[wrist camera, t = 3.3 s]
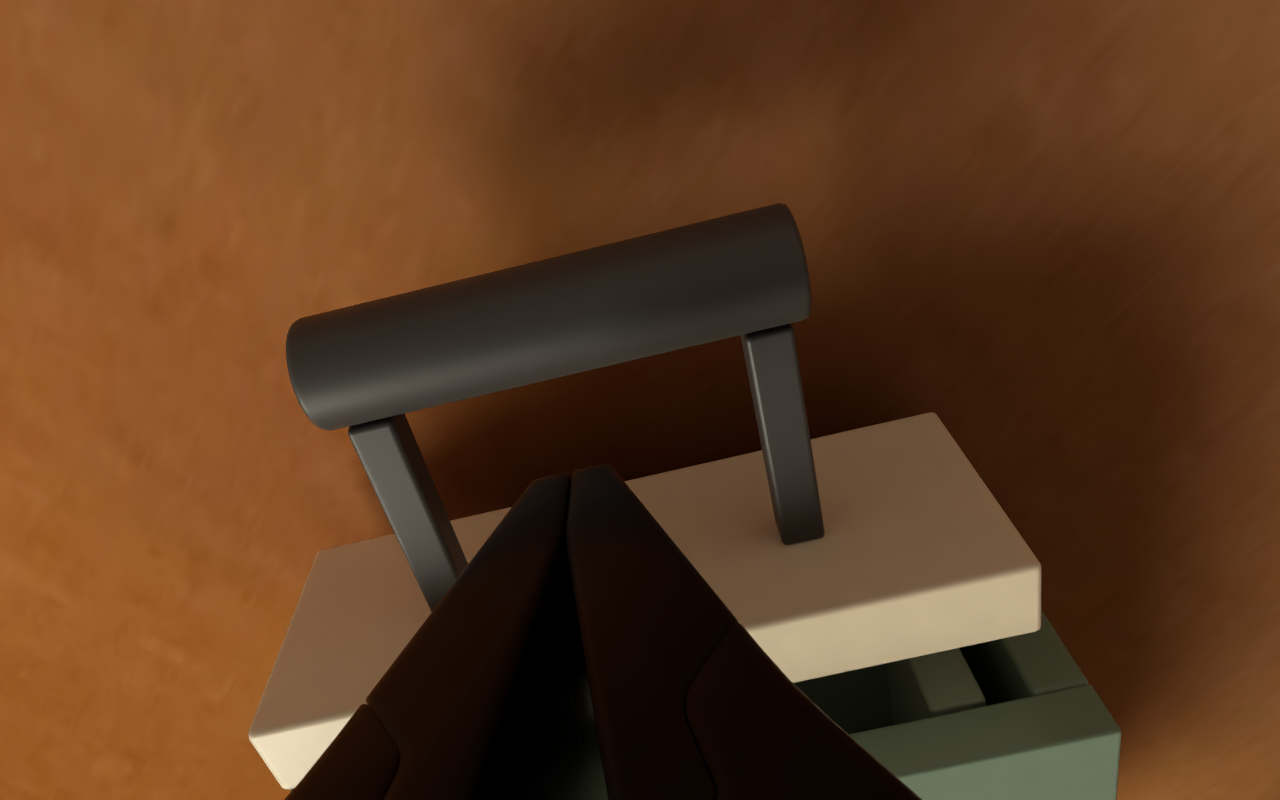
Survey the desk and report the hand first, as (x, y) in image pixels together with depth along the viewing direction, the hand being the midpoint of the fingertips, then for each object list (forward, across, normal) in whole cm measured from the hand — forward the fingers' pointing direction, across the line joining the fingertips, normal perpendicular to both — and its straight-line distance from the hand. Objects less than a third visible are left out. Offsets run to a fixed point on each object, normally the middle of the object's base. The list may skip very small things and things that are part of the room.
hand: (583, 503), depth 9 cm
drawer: (+4, 0, +6) cm, 7 cm away
